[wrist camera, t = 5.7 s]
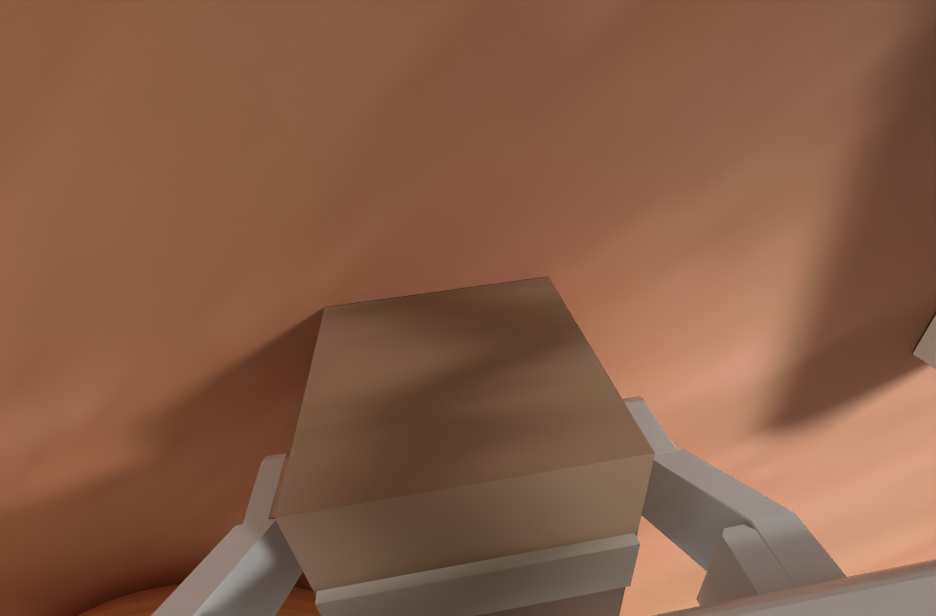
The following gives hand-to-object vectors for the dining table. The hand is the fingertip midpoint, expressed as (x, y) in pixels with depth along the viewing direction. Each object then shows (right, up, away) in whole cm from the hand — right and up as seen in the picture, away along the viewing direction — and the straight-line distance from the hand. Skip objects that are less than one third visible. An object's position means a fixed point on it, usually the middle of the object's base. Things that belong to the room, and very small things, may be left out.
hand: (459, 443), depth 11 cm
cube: (0, +1, +2) cm, 2 cm away
